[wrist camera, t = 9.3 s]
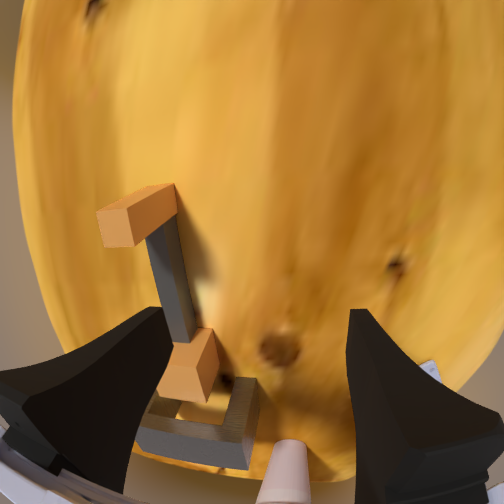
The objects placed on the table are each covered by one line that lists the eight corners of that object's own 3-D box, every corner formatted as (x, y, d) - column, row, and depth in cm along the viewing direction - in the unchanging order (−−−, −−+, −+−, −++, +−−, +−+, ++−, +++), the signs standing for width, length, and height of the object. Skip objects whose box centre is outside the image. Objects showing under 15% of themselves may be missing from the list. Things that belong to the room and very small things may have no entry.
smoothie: (252, 438, 29) (228, 547, 17) (306, 428, 27) (295, 550, 15) (276, 461, 31) (260, 557, 19) (325, 453, 29) (319, 557, 17)
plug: (220, 364, 25) (201, 418, 20) (177, 360, 26) (153, 409, 20) (187, 181, 19) (143, 206, 14) (135, 187, 20) (82, 213, 14)
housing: (259, 411, 27) (248, 470, 21) (166, 400, 29) (142, 451, 22) (255, 378, 25) (241, 443, 19) (153, 368, 27) (123, 421, 20)
